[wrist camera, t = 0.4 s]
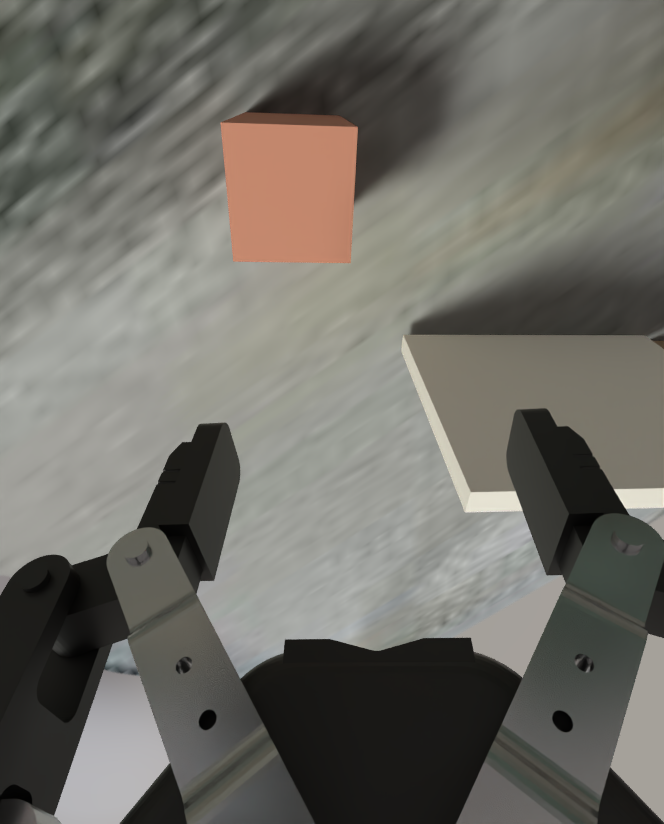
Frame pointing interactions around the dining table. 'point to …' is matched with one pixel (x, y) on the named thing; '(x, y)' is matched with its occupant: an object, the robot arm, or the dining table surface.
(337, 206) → the salmon orange block
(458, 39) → the dining table surface
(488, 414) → the door
